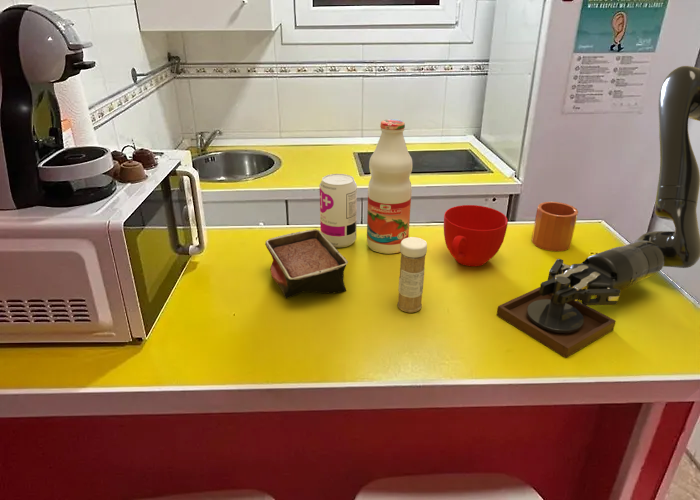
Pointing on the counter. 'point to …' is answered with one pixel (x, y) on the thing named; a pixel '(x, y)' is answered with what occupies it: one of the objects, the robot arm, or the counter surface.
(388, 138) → the fruit juice
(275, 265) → the baking dish
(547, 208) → the jar
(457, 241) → the ceramic cup
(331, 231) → the supplement can
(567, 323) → the grey peg stand
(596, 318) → the tray
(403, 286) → the sprinkles bottle
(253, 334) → the counter surface
